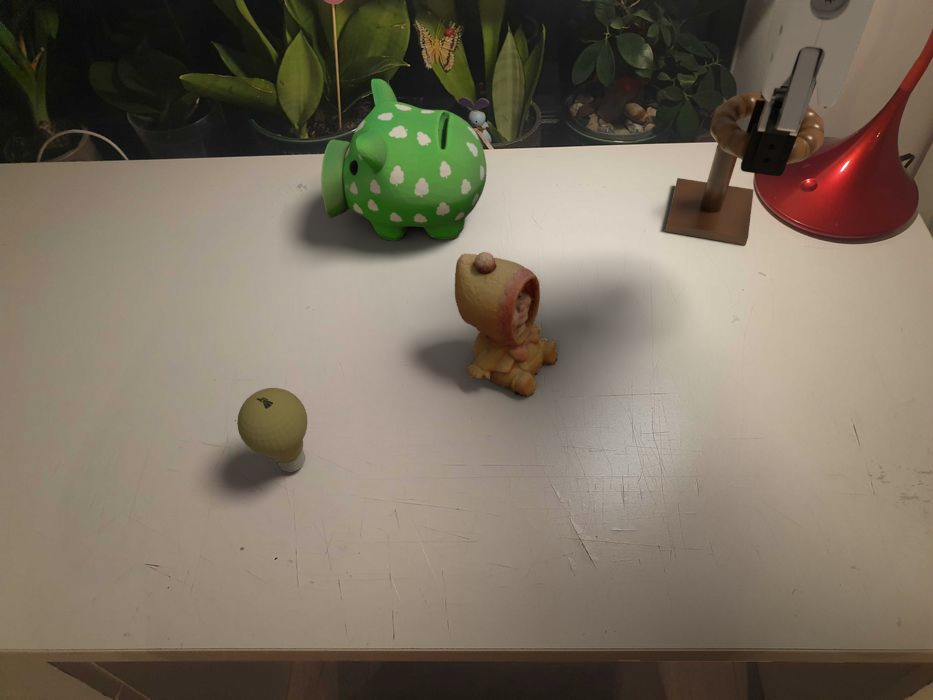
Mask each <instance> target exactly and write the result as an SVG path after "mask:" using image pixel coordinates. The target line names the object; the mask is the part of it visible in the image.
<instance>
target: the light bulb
mask: <svg viewBox="0 0 933 700" xmlns="http://www.w3.org/2000/svg"><path fill="white" fill-rule="evenodd" d="M236 421H237V423H236V424H237V431H238V434H239V437H240V439H241V440H242V442H243V443H244V444H245V445H246V447H248V448H249V449H250V450H252V451H253V452H254V453H256V454H259V455H261V456H266V457H270V458H271V459H272V460H274V461H276V463H277V464H278V466H279V468H280V469H281V470H282V471H284V472H287V473H293V472H295V471H299V469H301V468H302V466H304V464H305V462H306V454H305V452H304V450H303V447H304V438H305V436H306V433H307V429H308V413H307V409H306V408H305V406H304V404H303V403H302V401H301V399H300V398H299V397H297V395H296V394H294V393H293V392H291V391H289V390H286V389H285V388H278V387H269V388H268V387H267V388H263V389H260V390H258V391H256V392H254V393H252V394H251V395H249V396H248V397H247V398H246V399H245V400H244V401H243V403H242V405H241V407H240V408H239V411H238V414H237V420H236Z"/></svg>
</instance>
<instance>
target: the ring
mask: <svg viewBox="0 0 933 700" xmlns="http://www.w3.org/2000/svg"><path fill="white" fill-rule="evenodd" d="M760 94H761V91H756V92H750V93H749V92H748V93H742V94H737V95H734V96H732V97H730V98H729V99H727V100H725V101H724V102H723V103H721V104H719V105H718V106H716V107H715V109H714V111H713V113H712V116H711V122H710V127H709V131H710V132H709V133H710V135H711V137H712V138H713V139H714V140H715V142H716V143H717V145H718V144H719V146H720V147H721V148H722V149H723V150H724V151H725V152H727V153H729V154H731V155H733V156H735V157H737V159H740V160H742V159H743V156H744V153H745V150H746V147H747V144H748V141H749V137H750V133H748V132H746V131H747V130H744V129H742V128H741V126H739V124H738V122H740V121H741V120H746V119H750V118H751V115H752V112H753V109H754V106H755V103H756V100H762V101H766V99H760ZM824 141H825V122H824V119H823V118H822V117H821V116H820V115H819V114H818V113H817V112H816V111H815V110H814V108H812V107H811V106H810V105H809V104H808V107H807V110H806V112H805V115H804V118H803V120H802V123H801V126H800V128H799V134H798V136H797V139H796V141H795V144H794V147H793V149H792V152H791V154H790V157H789V159H788V162H787V165H790V164H794V163H800V162H803V161H805V160H806V159H807V158H809V157H810V156H811V155H812V154H814V153H815V152H816V151H818V150H819V149H820V148H821V147H822V146H823V144H824Z"/></svg>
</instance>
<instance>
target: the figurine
mask: <svg viewBox="0 0 933 700" xmlns="http://www.w3.org/2000/svg"><path fill="white" fill-rule="evenodd" d="M540 286H541V285H540V281H539V278H538V276H537V275H536V274H535V273H534V272H533V271H532V270H530V269H529V268H527V267H525V266H523V265H522V264H520V263H517V262H516V261H511V260H508V259H503V258H499V257H495V256H494V255H493V254H492V253H490V252H487V251H482V252H479V253H478V254H474V253H463V254H460V256H459V257H458V259H457V261H456V265H455V273H454V299H455V304H456V308H457V311H458V313H459V316H460V317H461V319H462V320H463V322H464V323H465V324H467V325H470V326H472V327H474V328H475V329H476V330H477V331H478V334H477V335H476V337H475V339H474V343H473V352H474V361H473V362H472V363H471V364H468V365H467V366H466V368H465V369H466V371H467V374H468V375H469V377H471V378H473V379H478V380H480V379H482V378H483V379H486V380H489V381H490V382H491V383H493V384H494V385H497V386H499V387H503V388H504V389H506V390H509V391H511V392H513V393H514V395H515V396H519V397H521V398H523V397H530V396H533V394H534V393H535V391H536V389H537V386H538V385H537V381H536V379H535V378H534V377H535V376H537V375H538V372H539V371H540V369H541V368H542V366H543V365H555V364H556V363H557V362H558V351H557V350H556V349H557V343H556V342H555V341H554V340H551V339H546V338H542V337H541V331H542V329H541V327H540V326H539V325H538V324H537V323H535V322H536V318H537V317H538V312H539V308H540V301H541V299H540V298H541V288H540Z"/></svg>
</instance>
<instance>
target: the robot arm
mask: <svg viewBox="0 0 933 700" xmlns="http://www.w3.org/2000/svg"><path fill="white" fill-rule="evenodd" d="M875 1H876V0H775V1H774V5H773V10H772V12H771V13H772V14H771V18H770V21H769V26H768V31H767V36H766V41H765V47H764V48H765V49H764V58H763V69H762V80H761V91H760V92H761V94H760V99H766V101H762V100H756V103H755V106H754V109H753V112H752V115H751V118H749V121H748V124H747V128H746V130H745V131H746V132H748V133H750V137H749V141H748V144H747V147H746V150H745V153H744V156H743V159H741V162H740V170H741V171H742V172H744V173H751V174H756V175H757V174H758V175H766V176H771V177H772V176H773V177H781V176H782V175H783V174H784V172H785V169H786V167H787V165H788V164H787V162H788V159H789V157H790V154H791V152H792V149H793V147H794V144H795V141H796V139H797V136H798V134H799V128H800V126H801V123H802V120H803V118H804V115H805V112H806V110H807V107H808V105H809V104H810V102H811V99H812V96H813V94H814V91H815V89H816V97H817V98H816V100H817V107H823V108H824V110H829V109H831V108H832V107H834V106H835V105H837V103H838V101H839V98H840V96H841V93H842V91H843V88H844V85H845V82H846V80H847V78H848V75H849V71H850V69H851V66H852V64H853V61H854V59H855V56H856V53H857V50H858V48H859V44H860V43H861V39H862V37H863V35H864V32H865V29H866V27H867V24H868V21H869V18H870V15H871V13H872V10H873V7H874V4H875Z"/></svg>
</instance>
